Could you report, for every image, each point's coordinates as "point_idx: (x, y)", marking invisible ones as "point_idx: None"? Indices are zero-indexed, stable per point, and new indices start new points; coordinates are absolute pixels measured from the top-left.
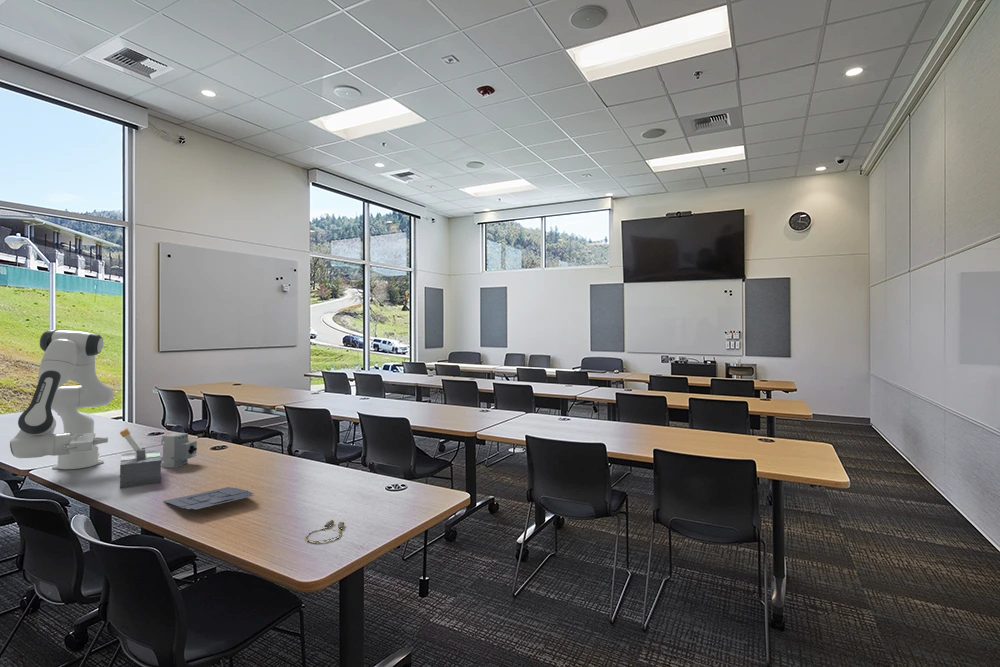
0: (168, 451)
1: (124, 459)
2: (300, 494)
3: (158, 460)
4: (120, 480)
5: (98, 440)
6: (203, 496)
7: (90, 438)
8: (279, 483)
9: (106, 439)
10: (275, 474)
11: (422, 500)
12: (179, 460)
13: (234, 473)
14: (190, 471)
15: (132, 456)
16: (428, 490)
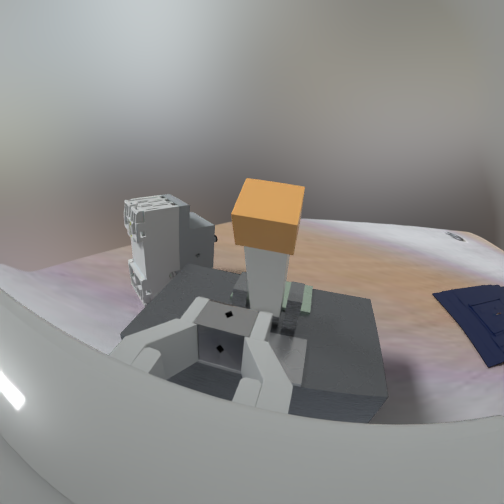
0: (162, 258)
1: (285, 368)
2: (469, 268)
3: (370, 303)
4: None
5: (284, 383)
6: (494, 320)
7: (310, 447)
8: (426, 262)
9: (269, 323)
10: (379, 250)
11: (483, 244)
12: None
13: (342, 267)
14: None
15: None
16: (464, 234)
